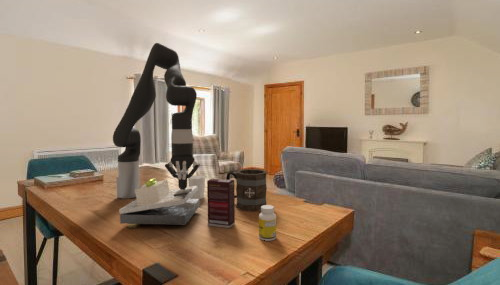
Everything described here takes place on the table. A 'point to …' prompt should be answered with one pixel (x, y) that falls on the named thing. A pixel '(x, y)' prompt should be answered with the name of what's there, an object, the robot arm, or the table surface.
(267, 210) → the supplement bottle
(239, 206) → the mug
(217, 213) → the supplement box
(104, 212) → the table surface
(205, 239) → the table surface
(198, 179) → the white cup
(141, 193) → the plate
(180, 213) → the grey tray
